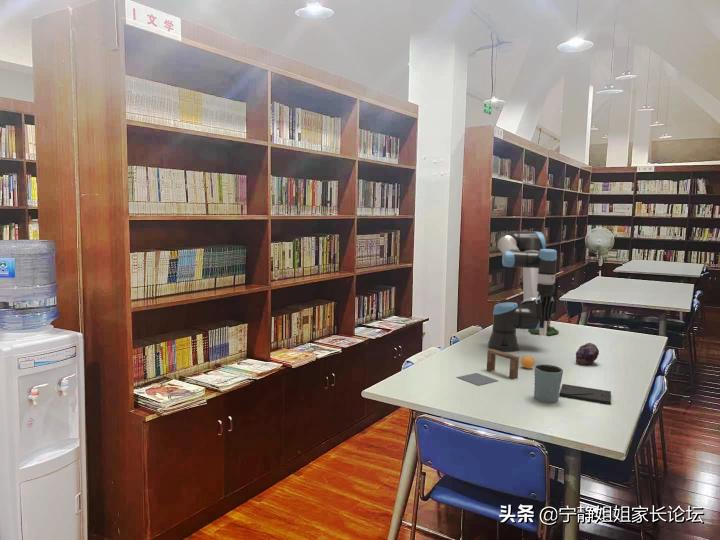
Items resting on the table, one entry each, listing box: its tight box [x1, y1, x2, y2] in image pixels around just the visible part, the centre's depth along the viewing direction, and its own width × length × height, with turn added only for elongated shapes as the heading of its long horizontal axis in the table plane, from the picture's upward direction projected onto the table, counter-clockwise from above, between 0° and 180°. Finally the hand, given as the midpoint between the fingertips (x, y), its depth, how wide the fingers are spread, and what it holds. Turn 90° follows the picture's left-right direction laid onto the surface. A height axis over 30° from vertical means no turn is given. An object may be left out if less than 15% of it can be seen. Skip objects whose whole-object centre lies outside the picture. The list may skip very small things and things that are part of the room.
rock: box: [575, 342, 600, 366], centre depth 251 cm, size 12×9×10 cm
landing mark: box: [456, 372, 499, 387], centre depth 222 cm, size 12×12×1 cm
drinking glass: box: [533, 363, 564, 404], centre depth 200 cm, size 10×10×12 cm
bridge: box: [486, 348, 520, 380], centre depth 230 cm, size 3×14×9 cm, turn 35°
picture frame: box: [559, 383, 612, 406], centre depth 206 cm, size 13×2×18 cm
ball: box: [520, 355, 535, 369], centre depth 240 cm, size 6×6×6 cm
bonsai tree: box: [518, 281, 559, 336], centre depth 311 cm, size 35×24×32 cm
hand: (542, 334), depth 244 cm, fingers closed
